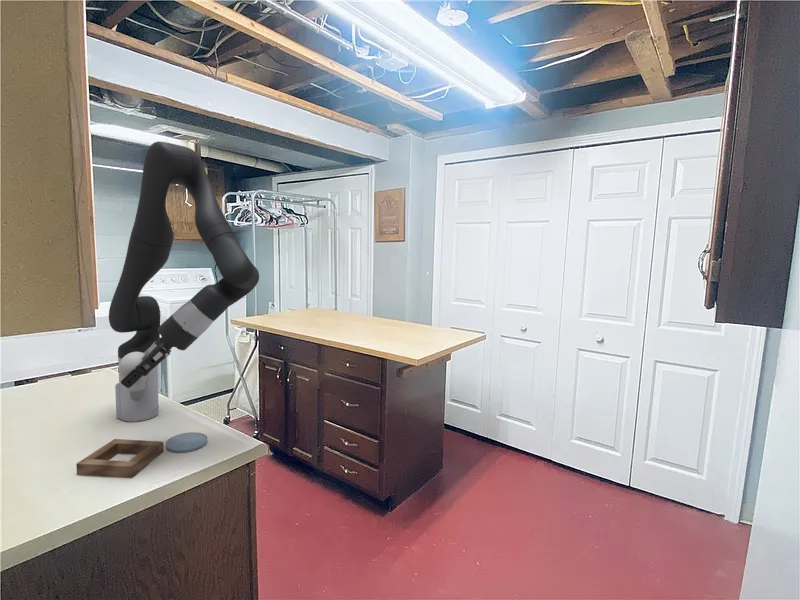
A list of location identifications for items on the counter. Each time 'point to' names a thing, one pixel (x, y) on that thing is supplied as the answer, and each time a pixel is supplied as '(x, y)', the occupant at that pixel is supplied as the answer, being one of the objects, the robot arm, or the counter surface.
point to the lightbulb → (126, 367)
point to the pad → (186, 442)
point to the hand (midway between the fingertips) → (127, 380)
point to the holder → (126, 469)
